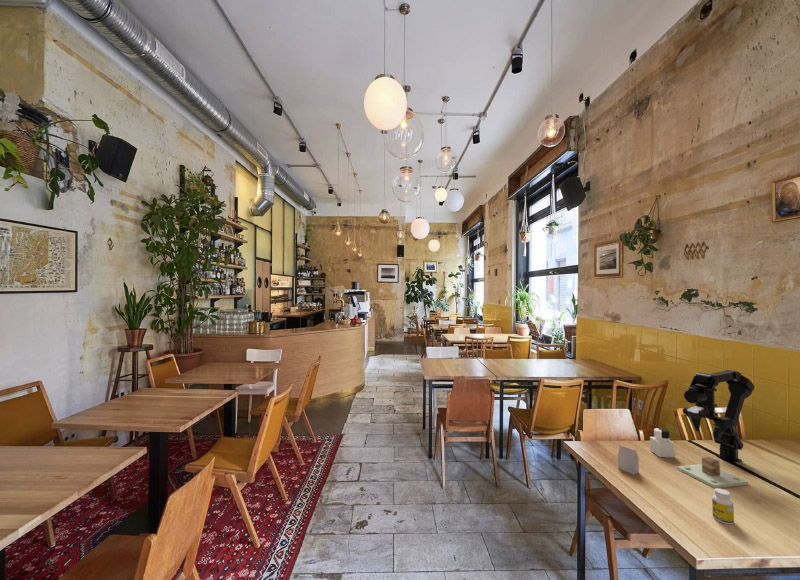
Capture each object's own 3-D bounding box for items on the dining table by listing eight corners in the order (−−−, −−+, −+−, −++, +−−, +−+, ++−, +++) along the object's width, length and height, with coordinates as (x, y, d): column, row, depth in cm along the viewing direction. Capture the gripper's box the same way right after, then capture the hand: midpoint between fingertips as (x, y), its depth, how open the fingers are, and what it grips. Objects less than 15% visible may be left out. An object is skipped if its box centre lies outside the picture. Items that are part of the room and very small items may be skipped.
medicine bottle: (665, 451, 173) (664, 427, 173) (675, 457, 165) (674, 432, 166) (650, 450, 173) (649, 426, 174) (659, 457, 166) (658, 432, 166)
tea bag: (634, 474, 150) (633, 451, 150) (618, 468, 156) (617, 445, 156) (638, 472, 152) (638, 449, 152) (622, 466, 158) (622, 444, 158)
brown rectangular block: (710, 470, 150) (709, 456, 150) (720, 475, 146) (719, 461, 146) (702, 471, 150) (701, 457, 150) (712, 476, 146) (711, 461, 146)
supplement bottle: (708, 515, 121) (707, 487, 122) (722, 514, 122) (721, 486, 122) (724, 525, 116) (722, 496, 116) (738, 524, 117) (737, 495, 117)
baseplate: (707, 466, 157) (707, 462, 157) (748, 484, 141) (748, 480, 141) (677, 469, 154) (677, 465, 154) (715, 488, 139) (715, 483, 139)
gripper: (672, 396, 168) (673, 428, 168) (712, 408, 150) (714, 444, 149) (691, 395, 170) (693, 427, 169) (734, 406, 151) (735, 442, 151)
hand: (707, 435), depth 160 cm, fingers open, 9 cm apart
